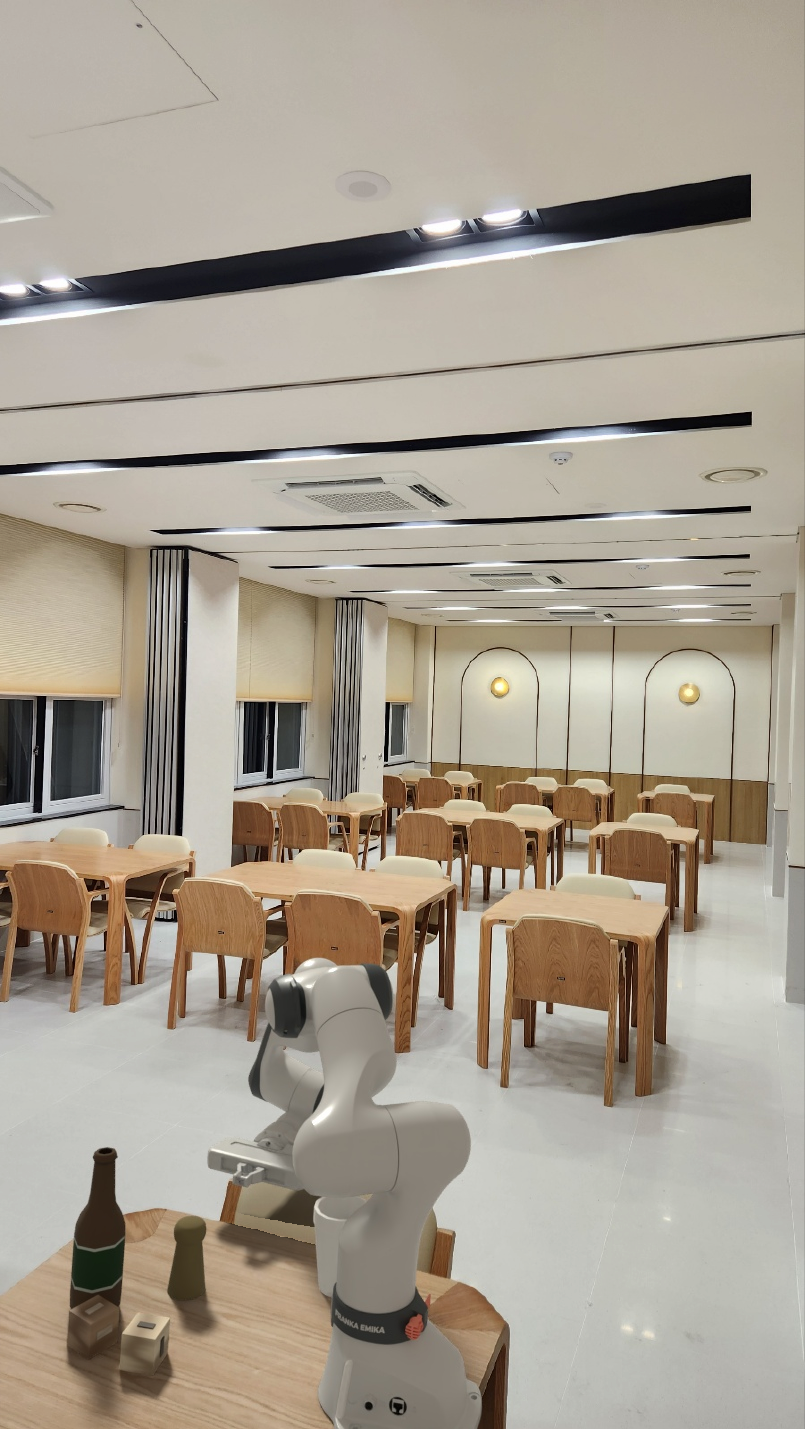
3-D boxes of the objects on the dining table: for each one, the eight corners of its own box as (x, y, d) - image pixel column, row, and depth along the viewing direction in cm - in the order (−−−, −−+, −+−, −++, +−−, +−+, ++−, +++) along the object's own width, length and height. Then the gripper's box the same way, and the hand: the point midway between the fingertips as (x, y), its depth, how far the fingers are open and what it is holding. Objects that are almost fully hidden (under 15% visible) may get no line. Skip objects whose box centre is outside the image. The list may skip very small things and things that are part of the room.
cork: (195, 1303, 143) (200, 1232, 143) (160, 1296, 144) (165, 1226, 144) (211, 1281, 148) (215, 1213, 149) (177, 1275, 150) (181, 1207, 150)
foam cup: (300, 1295, 146) (305, 1213, 147) (321, 1265, 155) (326, 1188, 155) (355, 1309, 143) (360, 1226, 144) (373, 1277, 152) (378, 1199, 153)
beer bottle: (87, 1330, 135) (98, 1166, 136) (58, 1308, 139) (69, 1150, 140) (131, 1306, 141) (141, 1150, 142) (101, 1286, 146) (112, 1135, 146)
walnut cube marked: (117, 1342, 132) (120, 1307, 133) (88, 1360, 128) (91, 1323, 128) (95, 1328, 135) (98, 1293, 135) (66, 1345, 131) (69, 1309, 131)
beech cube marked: (168, 1353, 131) (171, 1316, 131) (153, 1376, 126) (156, 1338, 126) (135, 1347, 132) (138, 1311, 132) (119, 1369, 127) (121, 1332, 127)
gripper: (229, 1122, 179) (191, 1151, 166) (323, 1144, 172) (291, 1176, 159) (227, 1155, 178) (188, 1186, 165) (321, 1178, 172) (288, 1212, 159)
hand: (239, 1181), depth 162 cm, fingers closed
